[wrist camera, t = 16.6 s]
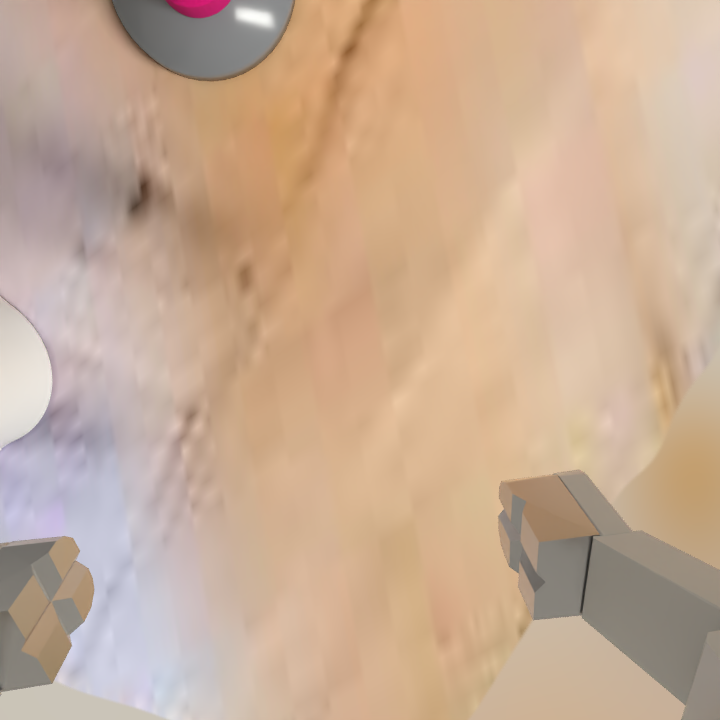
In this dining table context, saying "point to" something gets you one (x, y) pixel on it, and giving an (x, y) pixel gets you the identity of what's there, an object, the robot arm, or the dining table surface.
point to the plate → (207, 35)
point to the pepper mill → (198, 7)
